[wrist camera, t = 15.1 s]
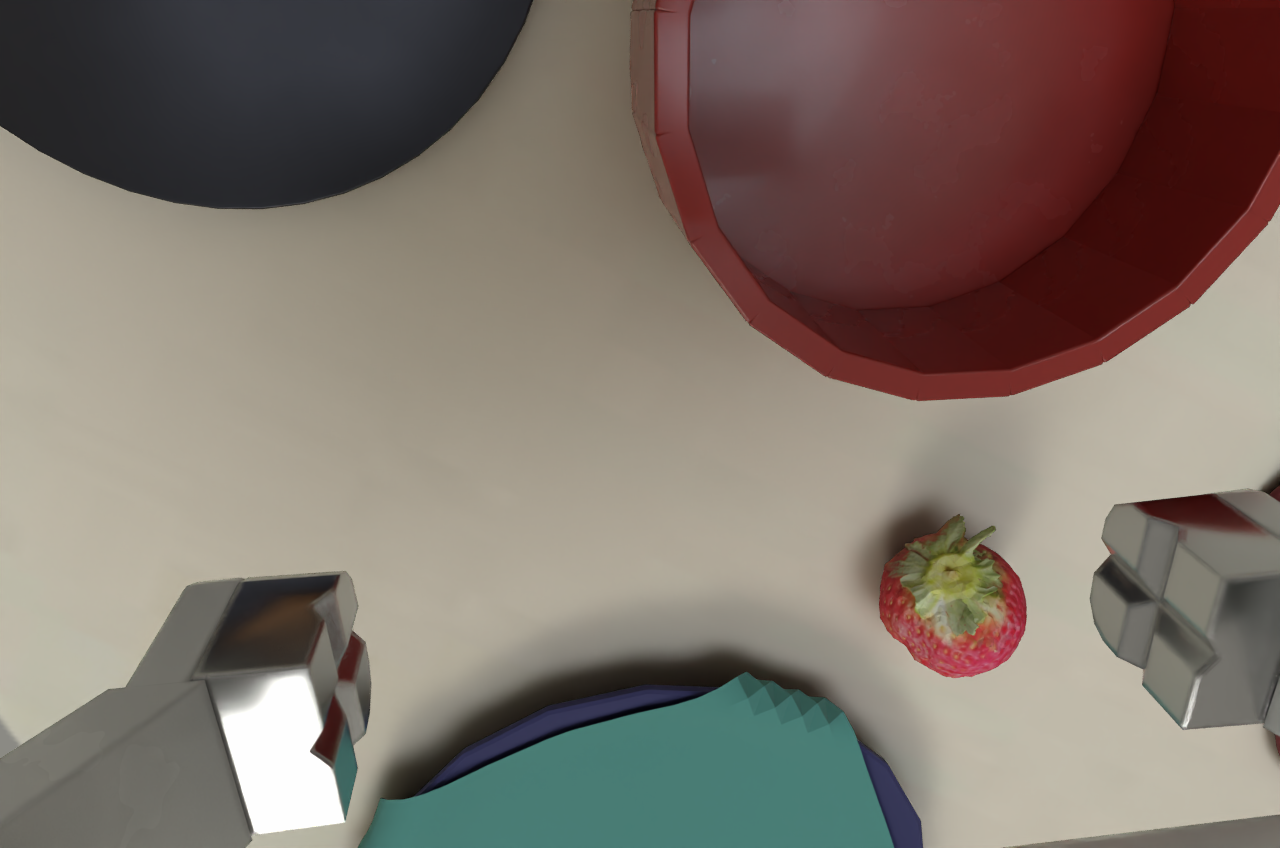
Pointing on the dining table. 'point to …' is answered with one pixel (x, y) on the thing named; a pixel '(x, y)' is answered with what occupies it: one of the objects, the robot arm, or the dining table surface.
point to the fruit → (953, 602)
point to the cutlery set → (662, 778)
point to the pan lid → (245, 89)
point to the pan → (960, 172)
